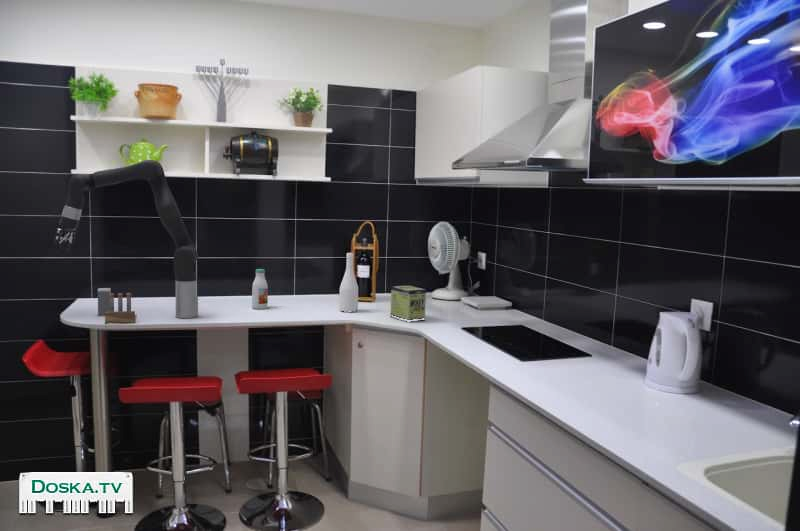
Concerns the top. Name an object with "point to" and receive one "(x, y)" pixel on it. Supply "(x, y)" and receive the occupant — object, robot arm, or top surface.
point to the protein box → (408, 302)
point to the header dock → (120, 310)
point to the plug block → (103, 301)
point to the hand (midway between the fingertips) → (60, 250)
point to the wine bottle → (348, 288)
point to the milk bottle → (260, 291)
